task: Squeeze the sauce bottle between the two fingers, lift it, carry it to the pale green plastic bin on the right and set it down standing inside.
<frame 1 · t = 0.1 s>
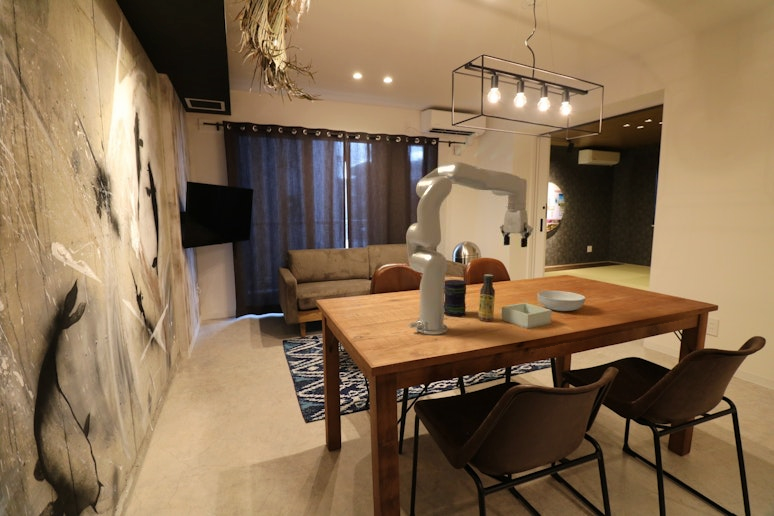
hand: (515, 246, 166), 31 cm above the table, tool pointing down, fingers open, 9 cm apart
rusty oil drum: (454, 314, 171), on the table
serving bowl: (559, 309, 178), on the table
bin: (525, 321, 159), on the table
sauce bottle: (486, 320, 161), on the table
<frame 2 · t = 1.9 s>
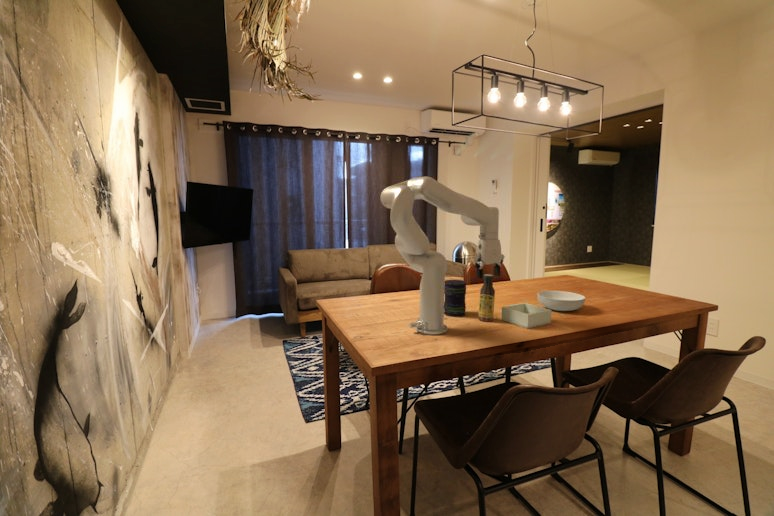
hand: (488, 276, 159), 19 cm above the table, tool pointing down, fingers open, 9 cm apart
nothing on the table moved.
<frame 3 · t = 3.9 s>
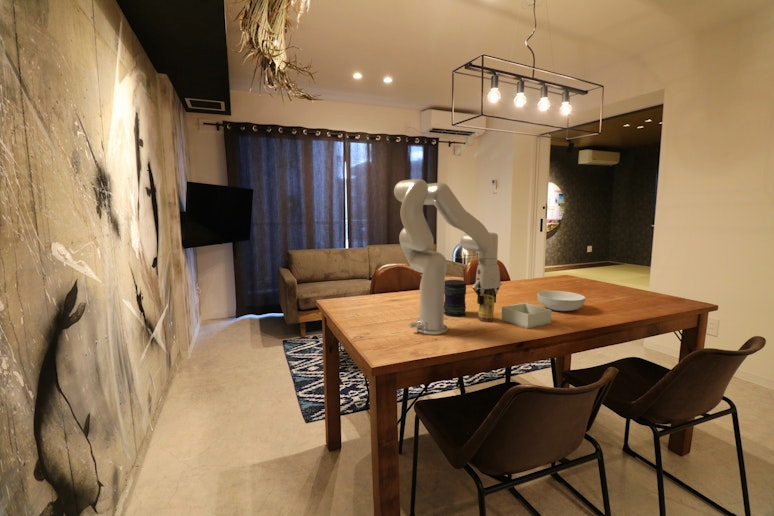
hand: (486, 302, 160), 8 cm above the table, tool pointing down, fingers closed on sauce bottle, 6 cm apart
sauce bottle: (486, 320, 161), on the table, touching gripper
everything else where it was.
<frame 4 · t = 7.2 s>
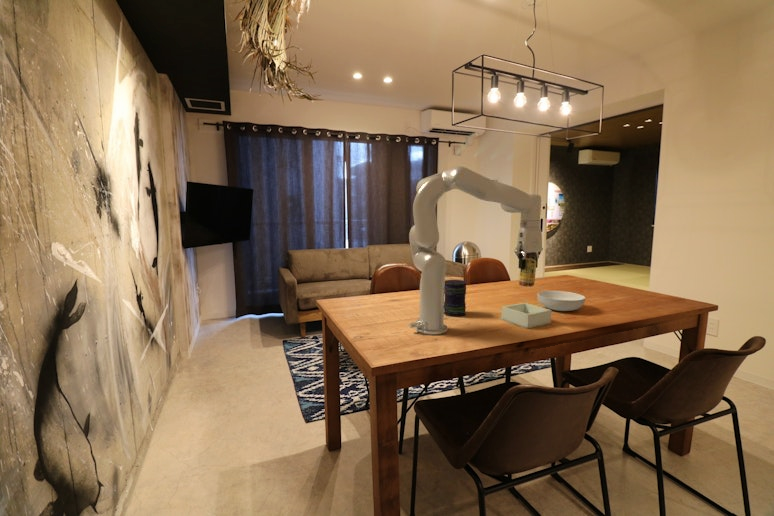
hand: (527, 267, 156), 23 cm above the table, tool pointing down, fingers closed on sauce bottle, 6 cm apart
sauce bottle: (526, 286, 157), point 15 cm above the table, touching gripper
everything else where it was.
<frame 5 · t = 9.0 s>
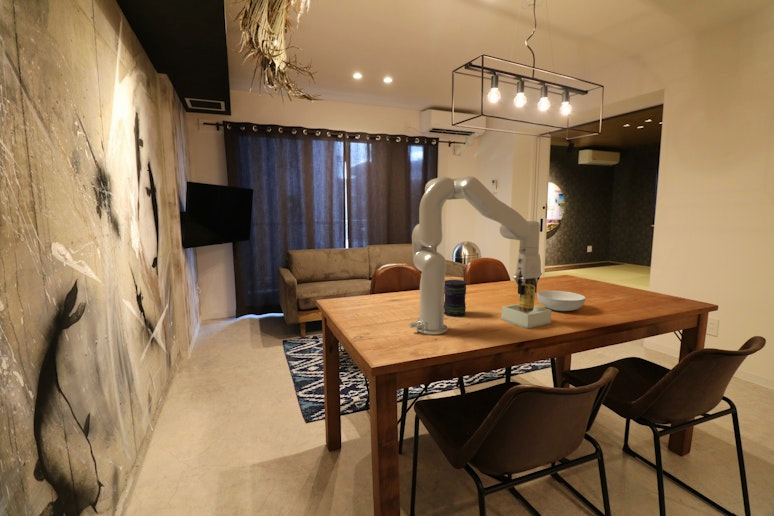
hand: (527, 292, 157), 13 cm above the table, tool pointing down, fingers closed on sauce bottle, 6 cm apart
sauce bottle: (526, 310, 158), point 5 cm above the table, touching gripper
everything else where it was.
when the fingers open (10 cm above the table, at t = 10.5 s): sauce bottle drops 1 cm, resting on bin.
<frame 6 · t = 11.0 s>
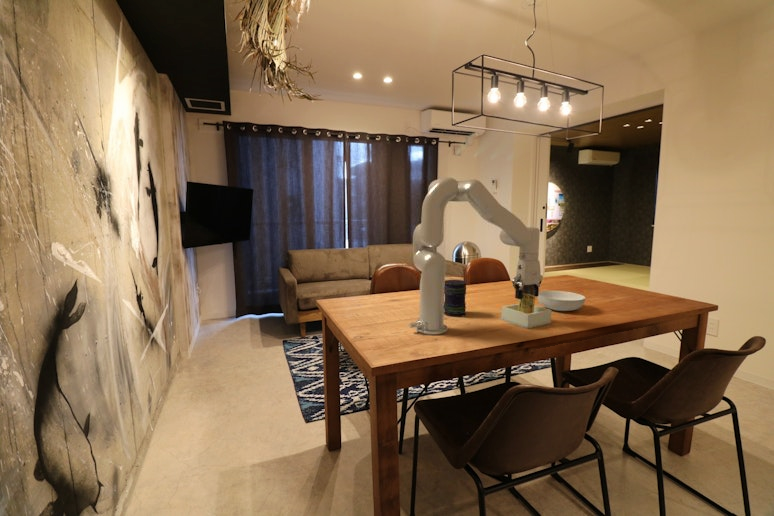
hand: (526, 297, 157), 11 cm above the table, tool pointing down, fingers open, 9 cm apart
sauce bottle: (525, 320, 159), point 1 cm above the table, touching bin
everything else where it was.
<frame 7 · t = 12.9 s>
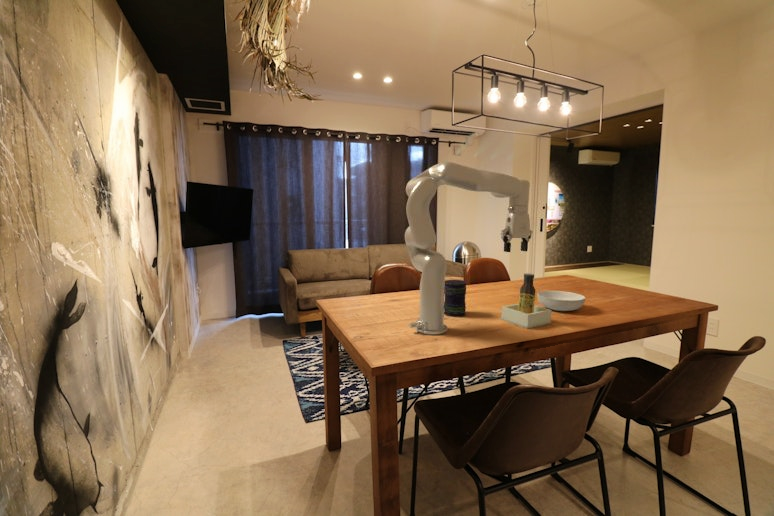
hand: (515, 251, 157), 30 cm above the table, tool pointing down, fingers open, 9 cm apart
nothing on the table moved.
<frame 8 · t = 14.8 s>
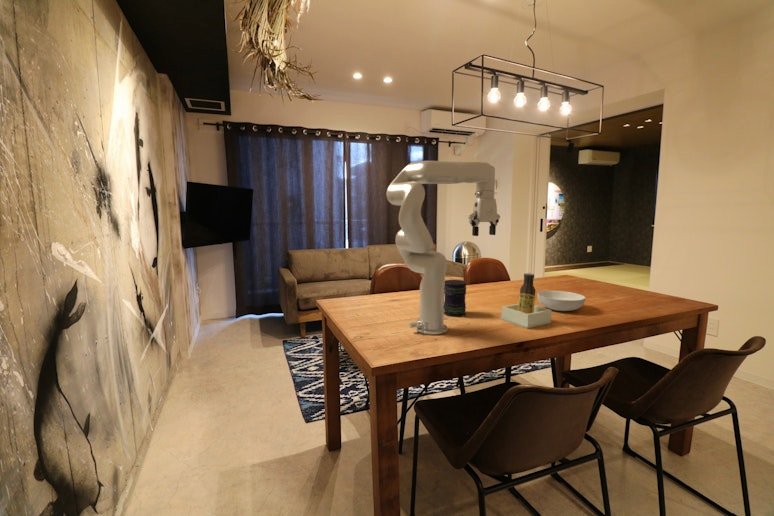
hand: (483, 235, 162), 36 cm above the table, tool pointing down, fingers open, 9 cm apart
nothing on the table moved.
at the end: sauce bottle inside the target area on the bin (0.1 cm from its centre), point 0.6 cm above the bin's base; sauce bottle tilted 0°; the gripper is holding nothing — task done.
